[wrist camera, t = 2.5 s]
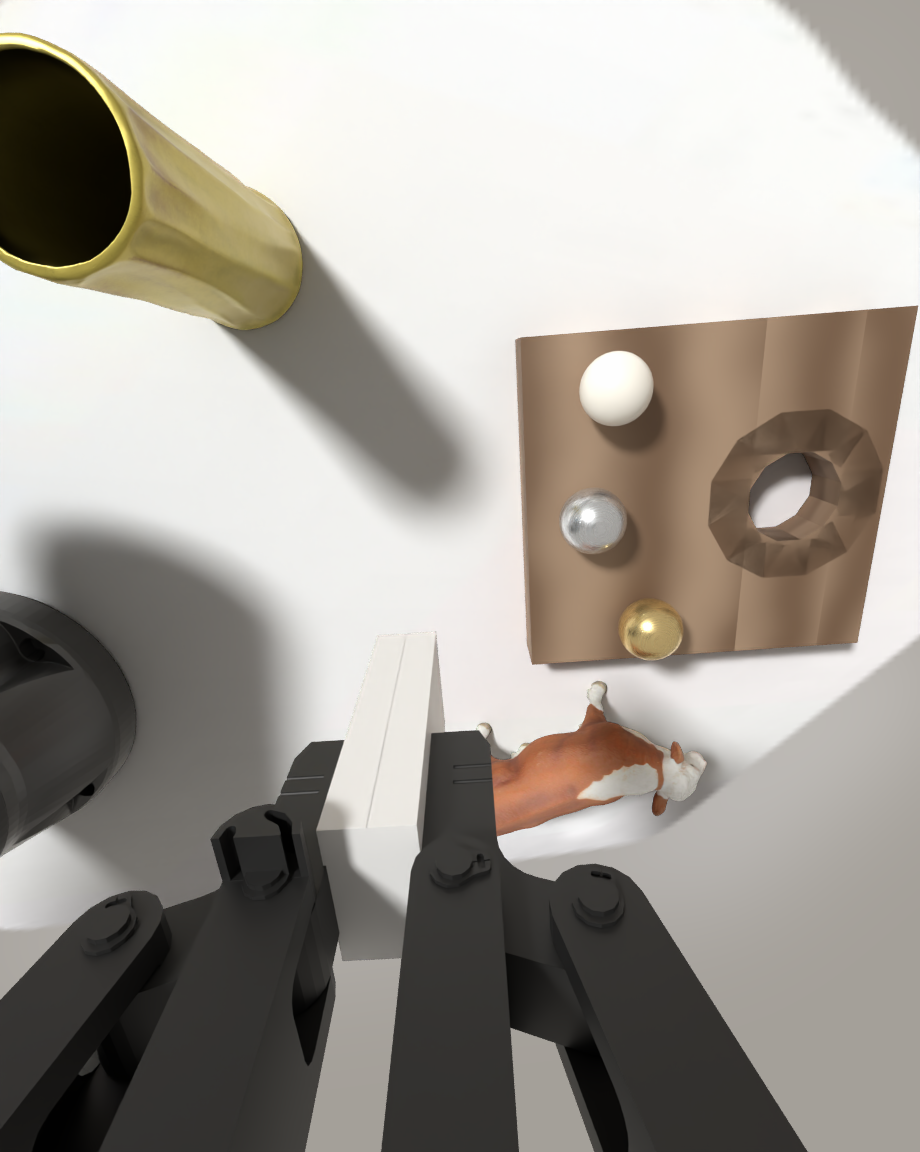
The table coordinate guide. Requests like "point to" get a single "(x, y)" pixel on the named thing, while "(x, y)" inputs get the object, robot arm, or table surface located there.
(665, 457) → the board
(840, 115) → the table surface
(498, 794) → the bull figurine
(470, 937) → the robot arm
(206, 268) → the vase
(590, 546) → the steel ball
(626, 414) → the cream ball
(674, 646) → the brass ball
